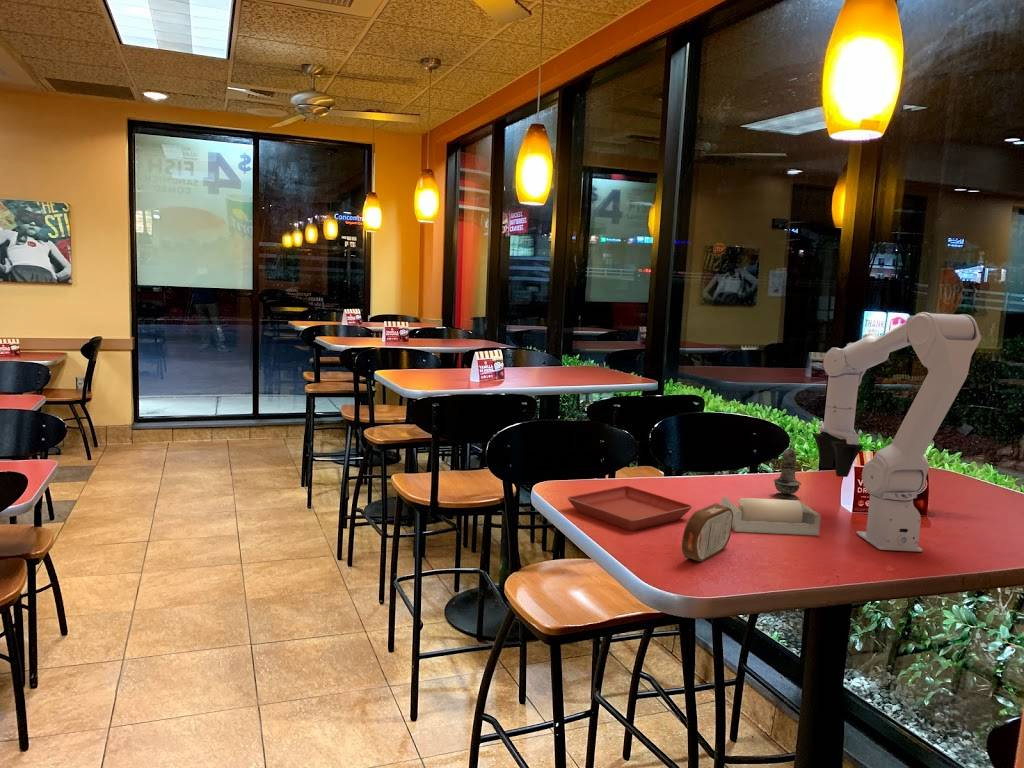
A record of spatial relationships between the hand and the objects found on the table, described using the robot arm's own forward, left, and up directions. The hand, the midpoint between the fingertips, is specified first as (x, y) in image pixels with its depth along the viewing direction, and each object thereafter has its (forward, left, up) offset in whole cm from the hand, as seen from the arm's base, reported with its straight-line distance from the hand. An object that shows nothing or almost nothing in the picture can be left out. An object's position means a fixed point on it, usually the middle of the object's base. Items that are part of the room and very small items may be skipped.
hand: (833, 471), depth 159 cm
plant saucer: (-6, +43, -10) cm, 45 cm away
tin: (-28, +33, -10) cm, 44 cm away
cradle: (-9, +16, -9) cm, 21 cm away
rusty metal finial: (+14, +4, -10) cm, 17 cm away
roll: (-9, +16, -9) cm, 21 cm away
